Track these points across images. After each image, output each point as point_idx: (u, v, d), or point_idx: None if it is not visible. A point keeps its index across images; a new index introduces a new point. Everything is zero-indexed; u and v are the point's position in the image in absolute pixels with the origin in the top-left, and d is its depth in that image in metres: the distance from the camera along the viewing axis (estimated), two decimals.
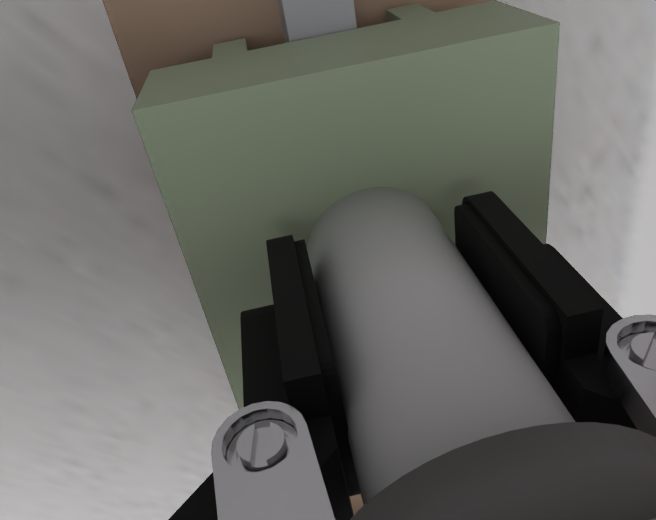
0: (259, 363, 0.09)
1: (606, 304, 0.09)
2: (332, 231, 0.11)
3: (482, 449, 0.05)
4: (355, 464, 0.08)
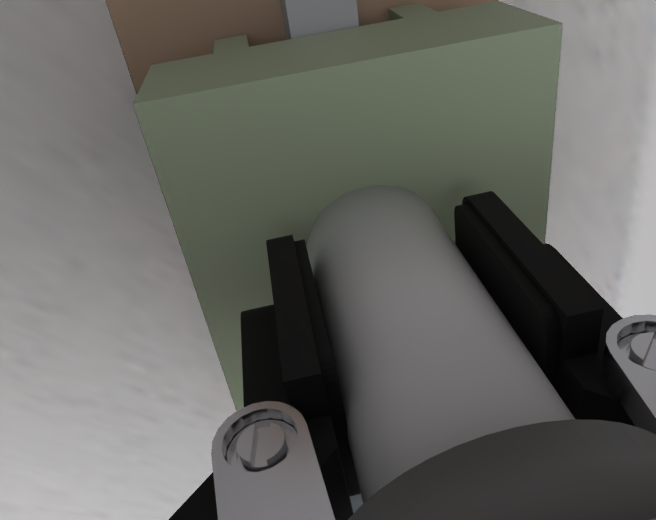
0: (259, 363, 0.09)
1: (606, 304, 0.09)
2: (332, 228, 0.11)
3: (486, 445, 0.05)
4: (355, 461, 0.08)
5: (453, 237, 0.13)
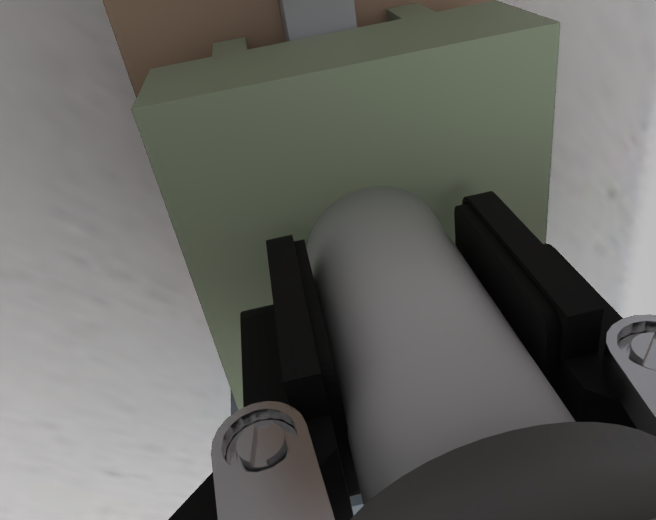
0: (259, 363, 0.09)
1: (606, 304, 0.09)
2: (332, 230, 0.11)
3: (483, 448, 0.05)
4: (355, 463, 0.08)
5: (453, 237, 0.13)
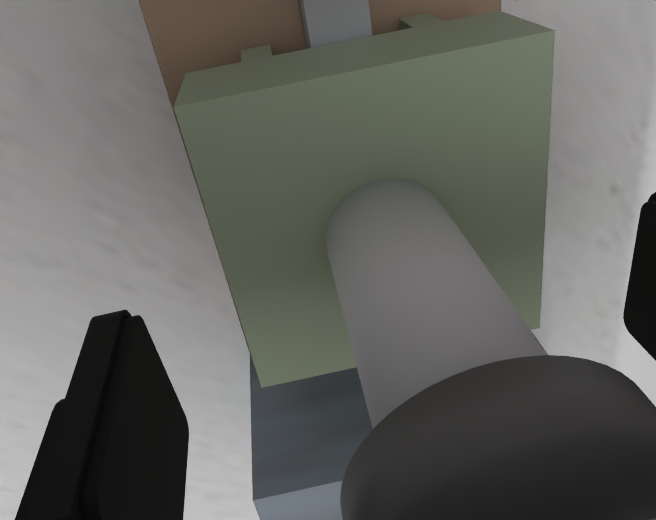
0: None
1: None
2: (349, 216, 0.12)
3: (474, 374, 0.06)
4: (369, 408, 0.09)
5: (459, 226, 0.14)
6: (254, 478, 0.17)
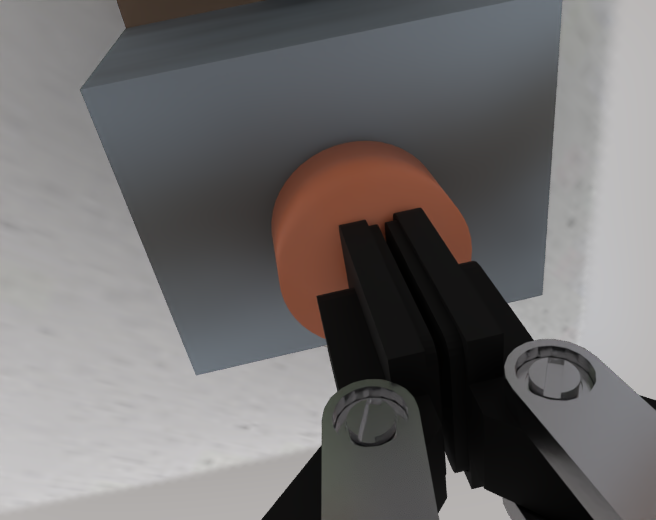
0: (346, 345, 0.09)
1: (520, 325, 0.09)
2: None
3: None
4: None
5: None
6: (90, 79, 0.12)
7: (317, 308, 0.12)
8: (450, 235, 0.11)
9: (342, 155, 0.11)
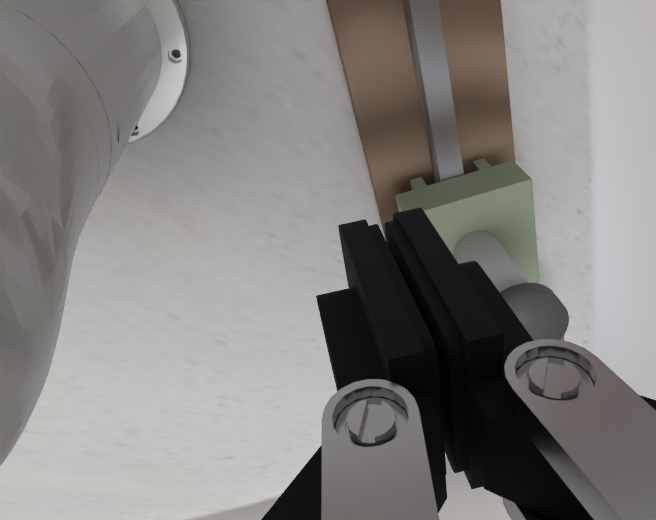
0: (346, 345, 0.09)
1: (520, 325, 0.09)
2: (464, 246, 0.35)
3: (510, 287, 0.29)
4: None
5: (503, 244, 0.37)
6: None
7: None
8: None
9: None
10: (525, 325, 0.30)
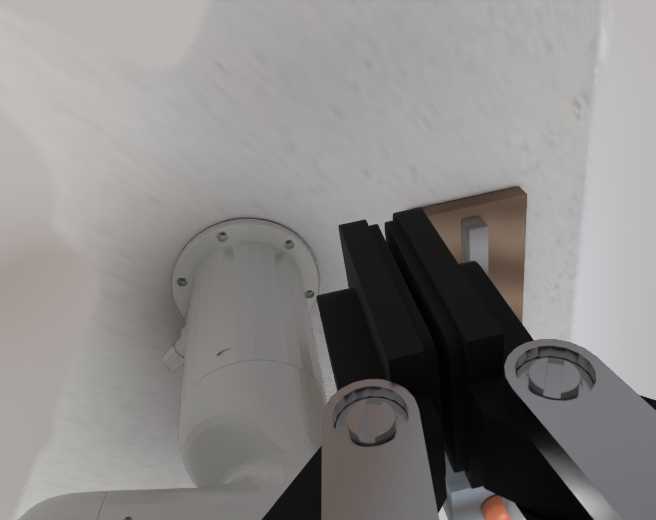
0: (346, 345, 0.09)
1: (520, 325, 0.09)
2: None
3: None
4: None
5: None
6: (449, 485, 0.57)
7: None
8: None
9: (500, 500, 0.57)
10: None
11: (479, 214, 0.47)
